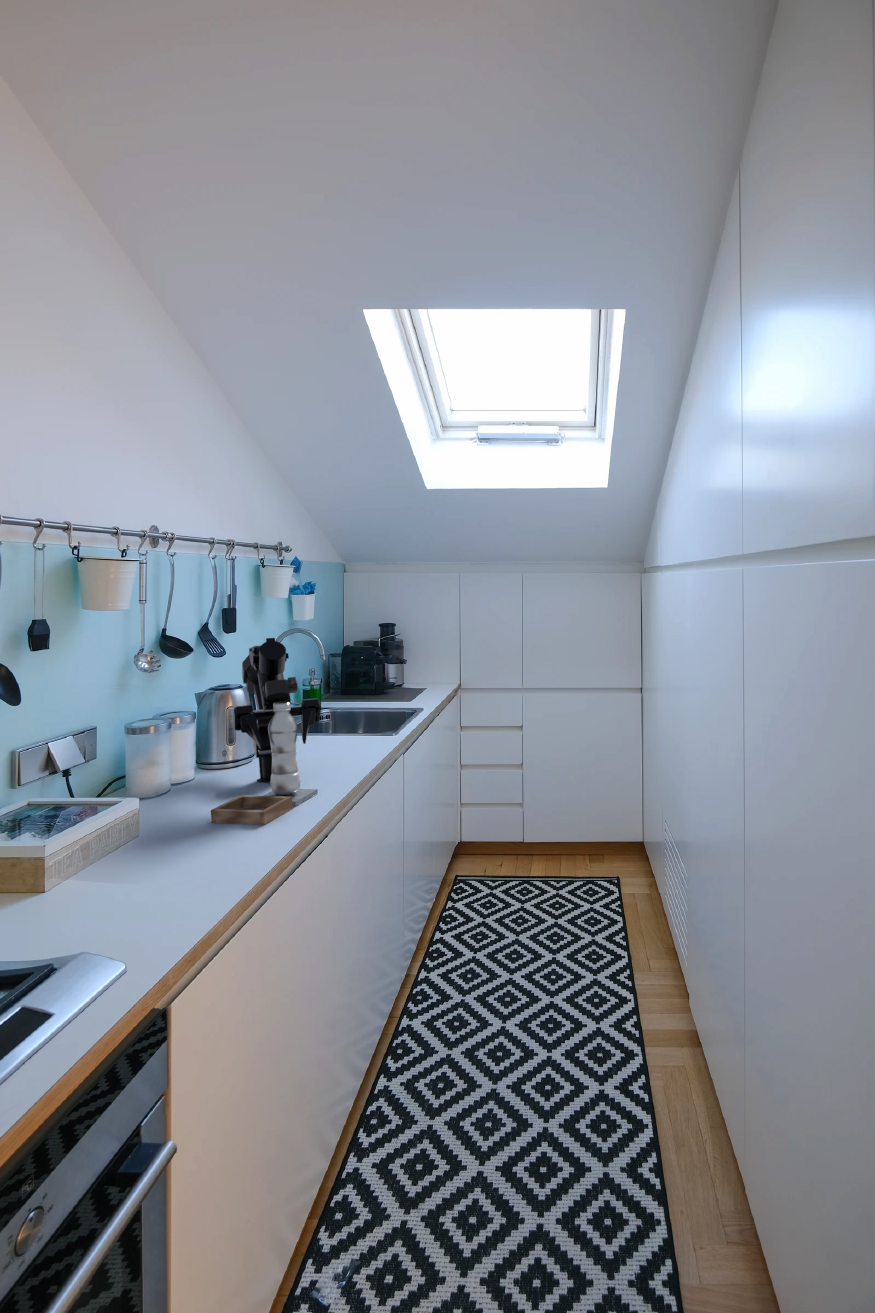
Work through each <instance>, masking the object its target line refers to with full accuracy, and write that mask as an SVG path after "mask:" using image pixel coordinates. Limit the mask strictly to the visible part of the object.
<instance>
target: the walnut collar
mask: <svg viewBox="0 0 875 1313" xmlns="http://www.w3.org/2000/svg"><path fill="white" fill-rule="evenodd" d="M293 807H294V806H292V797H283V796H263V795H253V794H252V795H249V794H248V795H247V794H246V795H245V794H239V795H238V796H237V797H235V798H233V799H231V800H229V801H226V802H225V803H222V804H220V805H218V806H216V807H214V808H212V809H210V819H211V823H215V824H216V823H217V824H233V825H234V824H239V825H257V826H258V825H259V826H261V825H262V826H265V825H268V824H269V823H271V822H274V820H276V819H277V818H279V817H280V816H283V815H284V814H286V813H288V812H290V811H291V810H293V809H294V808H293ZM252 809H253V810H252ZM254 809H256V810H254ZM289 810H290V811H289Z"/></svg>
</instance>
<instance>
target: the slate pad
mask: <svg viewBox="0 0 875 1313" xmlns="http://www.w3.org/2000/svg"><path fill="white" fill-rule="evenodd" d="M318 791H319V790H318V788H299V790H298V792H296V793H292V794H289V795H279V794H275V793H274V792H273V791H272V790H271V791H269V792H267V793H265V794H263V795H262V796H283V797H292V806H293V807H294V806H296V807H298V806H300V805H301V804H302V802H303V801H305V800H306V801H308V800H310V799H312V798H313V797H314V796H313V795H315V794H316V795H318V794H317V793H318ZM316 795H315V796H316ZM312 796H313V797H312ZM309 798H310V799H309ZM307 799H308V800H307ZM306 801H305V802H306ZM303 803H304V802H303ZM299 804H300V805H299ZM297 805H298V806H297Z"/></svg>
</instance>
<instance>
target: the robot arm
mask: <svg viewBox="0 0 875 1313" xmlns="http://www.w3.org/2000/svg"><path fill="white" fill-rule="evenodd" d="M287 659H289V653H288V652H287V648H286V646H285V645H284V644H283V643H282V642H280V641H276V638H275V637H266V638H265V642H263V643H262V644H261V645H254V646H251V647H249V648H248V655H247V657H246V658H245V659H244V660H243V661H242V662H241V676H242V684H243V685H245V687H246V691H247V692H248V693H251V694H252V695H254V700H255V704H256V709H255V710H254V709H253V705H252V704H243V705H236V706H234V708H233V727H234V730H235V731H237V732H239V731H240V732H241V733H243V734H247V735H248V736H249V737H250V738H251V740H253V751H254V752H253V753H254V756H255V757H256V759H257V758H258V764H259V765H258V766H259V768H258V769H259V778H258V779H256V782H257V783H270V781H271V774H272V752H271V743H270V738H269V732H268V725H269V722H270V720H271V719H272V717H273V716H274V712H273V703H275V702H290V704H291V701H292V700H291V694H296V693H298V690H299V689H298V681H297V677H296V676H291V677H290V676H289V677H287V679H285V677H284V676H285V675H284V672H285V668H286V662H287ZM300 703H301V704H300V706H294V707H291V706H290V708H291V711H289V712H290V714H291V715H292V717H293V718H294V717H295V718H296V717H300V720H301V724H300V726H301V727H300V728H301V740H302V743H303V745H305V744H306V743H307V736H308V732H309V729H310V726H314V725H315V724H316V723H317V722H319V721H320V718H321V712H322V704H321V700H319V699H318V698H306V699H301V702H300Z"/></svg>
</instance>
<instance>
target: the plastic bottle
mask: <svg viewBox="0 0 875 1313" xmlns="http://www.w3.org/2000/svg"><path fill="white" fill-rule="evenodd" d="M289 711H291V703H290V702H275V703H273V712H274V716H273V717H272V719H271V720H270V722H269V725H268V732H269V738H270V743H271V752H272V774H271V781H270V782H269V783H270V788H271V791H273V792H274V793H275V794H279V795H289V794H292V793H296V792H298V790H299V789H301V782H302V780H301V775H300V772H299V767H298V766H299V765H298V760H297V740H298V729H299V728H298V727H299V726H298V723H297V721H296V719H295V718H294V717H292V715H291V714H290V712H289Z"/></svg>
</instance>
